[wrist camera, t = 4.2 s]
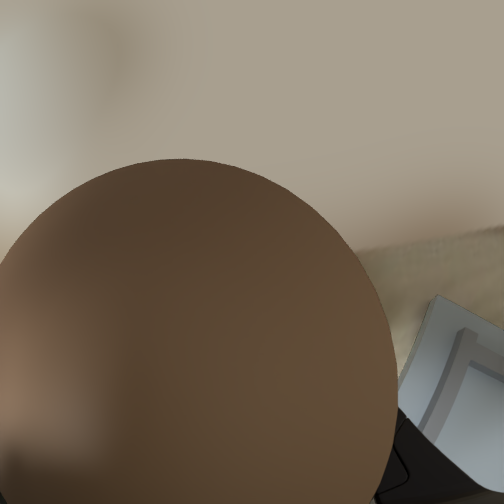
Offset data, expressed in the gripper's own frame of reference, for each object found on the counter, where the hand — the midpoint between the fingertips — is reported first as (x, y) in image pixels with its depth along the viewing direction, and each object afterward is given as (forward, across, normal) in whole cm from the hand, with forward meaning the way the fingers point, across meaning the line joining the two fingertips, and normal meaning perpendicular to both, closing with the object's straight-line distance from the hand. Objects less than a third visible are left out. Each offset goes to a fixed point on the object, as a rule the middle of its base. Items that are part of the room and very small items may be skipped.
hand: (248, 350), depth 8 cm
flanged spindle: (+4, 0, +6) cm, 7 cm away
